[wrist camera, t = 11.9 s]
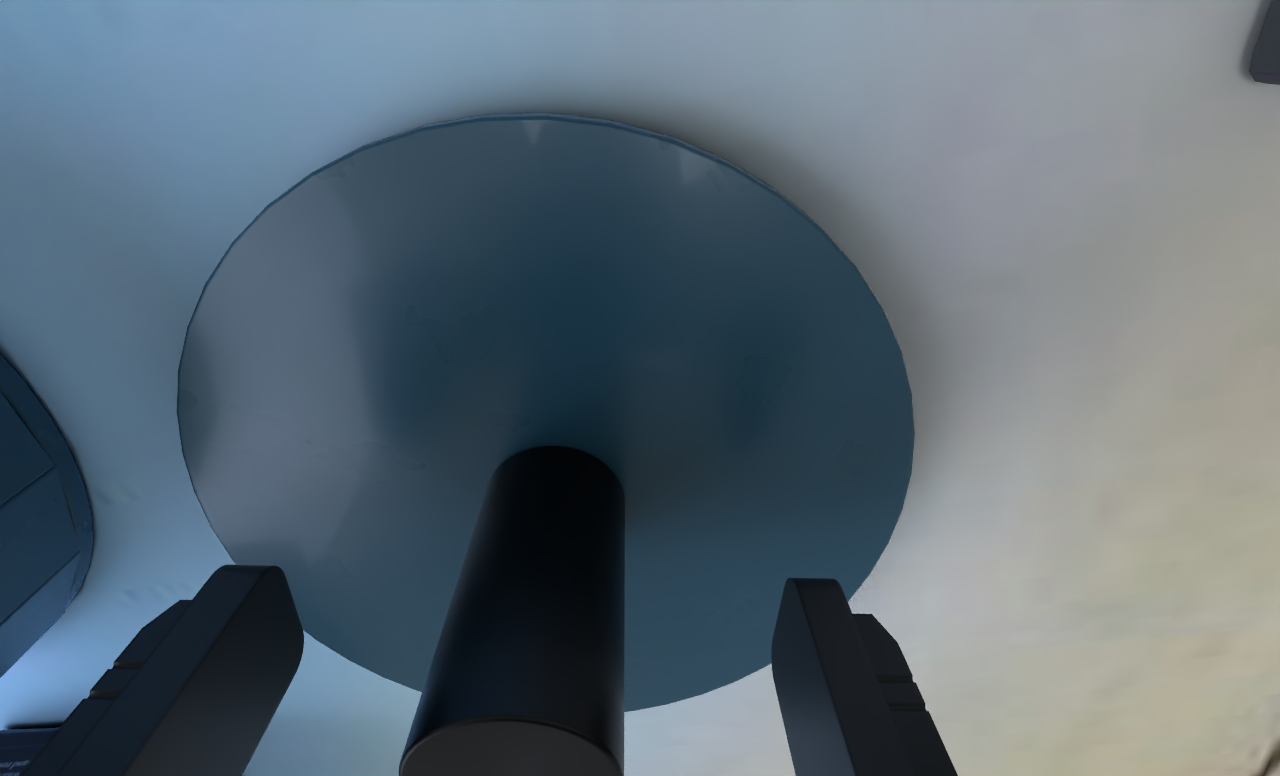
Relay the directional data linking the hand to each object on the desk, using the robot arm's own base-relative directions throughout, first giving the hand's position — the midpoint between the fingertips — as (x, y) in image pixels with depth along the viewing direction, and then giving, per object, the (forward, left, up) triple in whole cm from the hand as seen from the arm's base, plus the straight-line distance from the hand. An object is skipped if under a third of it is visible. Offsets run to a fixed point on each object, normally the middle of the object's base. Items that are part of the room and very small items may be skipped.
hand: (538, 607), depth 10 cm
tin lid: (0, 0, -3) cm, 3 cm away
